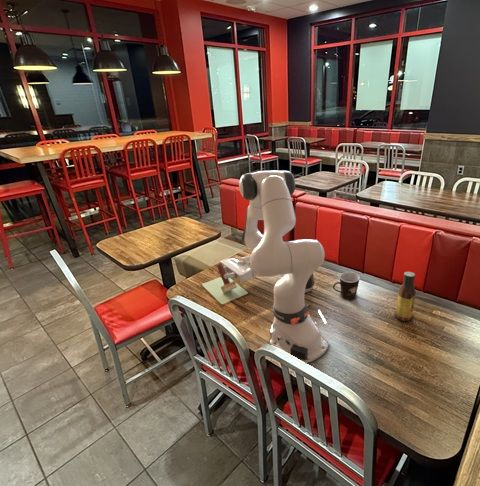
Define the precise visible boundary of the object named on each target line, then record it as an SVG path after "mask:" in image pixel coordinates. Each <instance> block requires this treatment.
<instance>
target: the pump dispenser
mask: <svg viewBox="0 0 480 486" xmlns="http://www.w3.org/2000/svg"><path fill="white" fill-rule="evenodd" d="M314 286H315V277H314V273H313V274H312V275H311V276H310V278H309V280H308V282H307V284H306V287H305V294H306V293H309V292H310V291H312V290H313V288H314Z"/></svg>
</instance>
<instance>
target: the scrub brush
mask: <svg viewBox="0 0 480 486" xmlns="http://www.w3.org/2000/svg"><path fill="white" fill-rule="evenodd" d="M216 268H217V270H218V271H219V273H220V274H219V273H218V274H219V276H220V277H221V278H222V280H223V283H224V286H222V287H221V290H222V292H223V293H226V292H228V291H230V290H233V289H235V288H237V286H236V283H237V282H236V281H235V280H233V282H230V281H229V279H228V278H227V279H225V278H224V274H226V273H227V271H225V269H224V267H223V264H222V263H221V264H220V263H218V264H216ZM218 271H217V272H218ZM235 282H236V283H235Z"/></svg>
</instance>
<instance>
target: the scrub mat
mask: <svg viewBox="0 0 480 486" xmlns="http://www.w3.org/2000/svg"><path fill="white" fill-rule="evenodd" d="M228 279H229V281H230V282H233V281H234V279H233V278H228ZM235 283H236V286H237V288H235V289H233V290H230V291H228V292H226V293H223V292H222V290H221V287H222V286H224V283H223V280H222V278H221V276H219V277H217V278H214V279H212V280H211V279H210V280H209V281H206V282H203V283H201V286H202V287H203V288H204V289H205V290H206V291H207V292H208V293H209V294H210V295H211V296H212V297H213V298H214V299H215V300H216V301H217V302H218V303H219V304H220V305H225V304H227V303H229V302H231V301H234V300H236V299H238V298H241V297H243V296H246V295H247V294H249V292H248V291H247V290H246V289H244V288H243V287H242V286H240V285H239V284H238V283H237V282H236V281H235Z"/></svg>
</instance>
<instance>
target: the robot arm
mask: <svg viewBox="0 0 480 486" xmlns="http://www.w3.org/2000/svg"><path fill="white" fill-rule="evenodd" d="M238 190H239V193H240V194H241V195H240V196H241V197H242V198H243V199H244V200H247V201H249V205H248V206H247V208H246V212H245V221H244V228H243V232H242V234H241V242H242V244H243V245H244V246H246V247H247V248H248V249H249V250H250V251H251V253H250V254H249V255H246V256H242V257H240V258H235V257H230V258H229V257H228V258H224V259H221V260H220V263H219V264H221V263H222V264H223V267H224V269H225V272H226V274H224V278H225V279H227V278H231V279H234V278H235V279H236V280H237V281H239V282H240V283H245V282H247V281H250V280H252V279H256V278H257V276H258V277H264V278H265V277H266V278H269V277H270V278H272V277H278V276H282V277H280V278H279V279H278V280H277V281H276V282H275V284H274V286H273V305H272V311H273V321H272V325H271V328H270V333H271V339H269V340H270V341H269V345H270V344H271V345H275V346H277V347H279V348H281V349H283V350H285V351H286V352H288V353H290V354H291V355H293V356H295V357H297V358H298V359H300V360H302V361H304V362H306V363H305V364H308V363H311V362H314V361H315V360H318V359H319V358H320V357H321V356H323V355H324V354H325V353H326V352H327V350H328V348H329V344H328V342H327V341H326V340H325V339H324V338H323V337H322V334H321V331H320V330H319V323H318V322H317V321H313V319H312V318H311V315H310V310H309V311H308V308H307V307H308V306H307V305H306V302H305V296H306V295H305V294H306V293H305V287H306V284H307V282H308V280H309V278H310V276H311V275H312V274H313V275H314V273H315V272H316V271H317V270H318V269H319V268H320V267H321V266H323V264H324V261H325V257H326V252H325V248H324V246H323V244H321V242H320V241H319V240H317V239H306V238H303V239H295V240H289V241H284V239H283V237H284V236H285V235H286V234H289V232H291V231H292V230H293V229H294V228H295V226H296V223H297V218H296V213H295V208H294V205H293V200H292V196H293V194H294V193H295V190H296V180H295V175H294V174H293V173H292V172H291V171H289V170H283V169H282V170H260V171H255V172H247V173H243V174H242V175H241V176H240V178H239V183H238ZM258 221H263V233H261V231H260V230H259V228H258V223H259V222H258ZM217 274H219V275H220V273H219V271H218V269H217ZM318 314H319V315H320V317H321V319H322V322H324V324H327V321H326V318H325V317H324V315H323V314H322V312H321V310H320V309H318Z"/></svg>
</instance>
